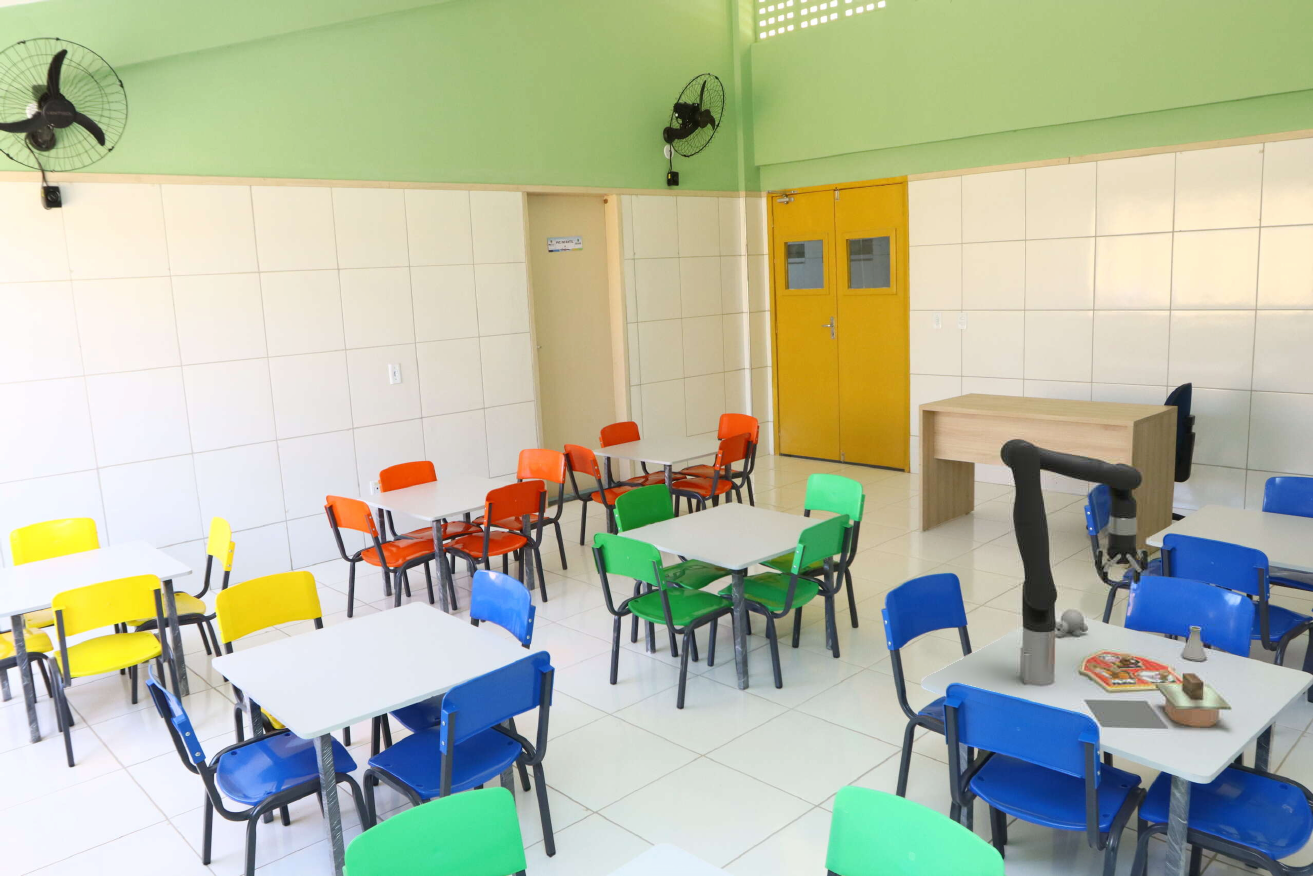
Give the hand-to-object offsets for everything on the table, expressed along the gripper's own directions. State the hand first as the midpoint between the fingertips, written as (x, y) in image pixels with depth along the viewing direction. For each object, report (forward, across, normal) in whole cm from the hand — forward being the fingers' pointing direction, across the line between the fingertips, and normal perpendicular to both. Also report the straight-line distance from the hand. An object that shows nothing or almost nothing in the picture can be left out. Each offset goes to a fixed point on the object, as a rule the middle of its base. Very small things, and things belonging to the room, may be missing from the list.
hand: (1120, 582), depth 282 cm
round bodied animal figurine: (+30, -5, +34) cm, 46 cm away
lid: (+24, +11, -27) cm, 38 cm away
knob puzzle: (+31, +4, +4) cm, 31 cm away
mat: (+30, -6, -26) cm, 40 cm away
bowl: (+30, +11, -27) cm, 42 cm away
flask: (+30, +28, +16) cm, 44 cm away
